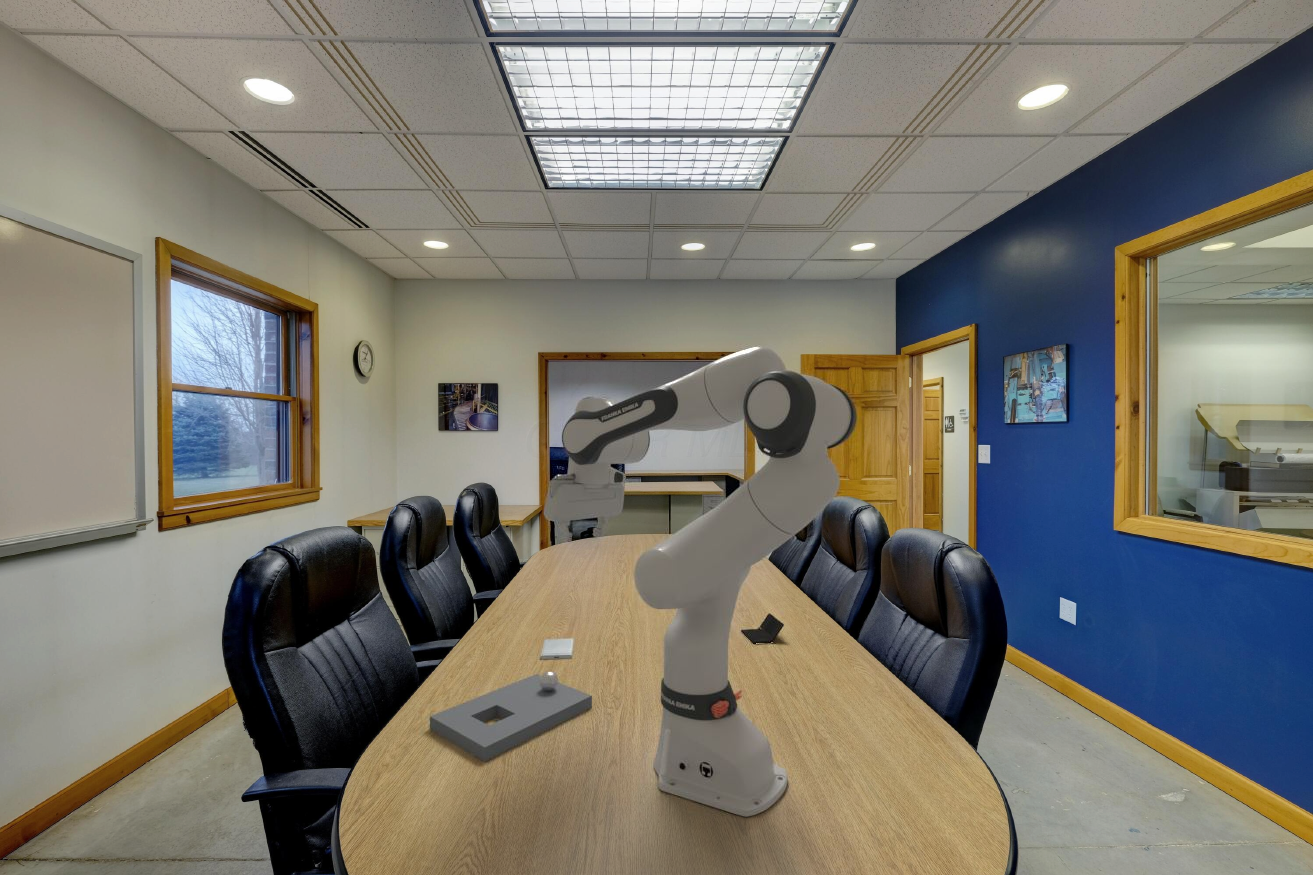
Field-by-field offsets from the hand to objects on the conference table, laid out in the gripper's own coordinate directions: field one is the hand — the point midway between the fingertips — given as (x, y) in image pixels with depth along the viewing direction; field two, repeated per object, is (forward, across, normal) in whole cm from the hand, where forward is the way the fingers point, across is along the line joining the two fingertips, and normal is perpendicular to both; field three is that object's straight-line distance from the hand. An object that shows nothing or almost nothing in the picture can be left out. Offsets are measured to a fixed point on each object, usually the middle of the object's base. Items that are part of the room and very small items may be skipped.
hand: (582, 538), depth 117 cm
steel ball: (+31, -2, +4) cm, 32 cm away
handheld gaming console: (+33, +64, -13) cm, 73 cm away
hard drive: (+39, +20, +25) cm, 50 cm away
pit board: (+36, -11, +4) cm, 38 cm away
